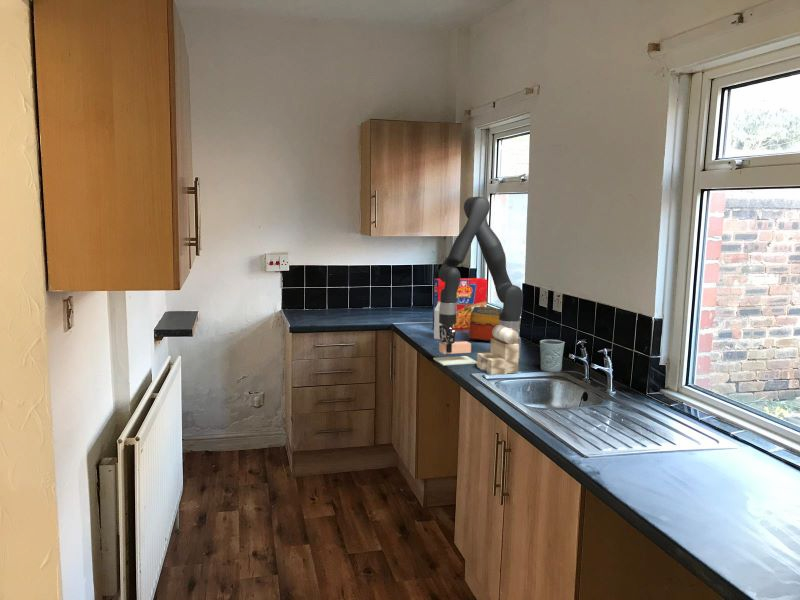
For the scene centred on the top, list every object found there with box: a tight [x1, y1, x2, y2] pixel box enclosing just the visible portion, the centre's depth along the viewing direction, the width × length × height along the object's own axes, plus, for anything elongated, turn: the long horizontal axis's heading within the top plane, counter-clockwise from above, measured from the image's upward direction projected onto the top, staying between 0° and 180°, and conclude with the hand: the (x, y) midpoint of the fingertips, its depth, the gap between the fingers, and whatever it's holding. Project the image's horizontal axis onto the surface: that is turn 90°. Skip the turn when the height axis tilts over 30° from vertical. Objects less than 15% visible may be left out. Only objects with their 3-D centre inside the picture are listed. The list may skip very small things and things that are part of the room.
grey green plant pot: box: [539, 339, 565, 373], centre depth 284 cm, size 10×10×12 cm
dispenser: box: [476, 325, 519, 376], centre depth 280 cm, size 12×14×18 cm
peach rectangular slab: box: [438, 340, 472, 355], centre depth 295 cm, size 13×5×4 cm, turn 109°
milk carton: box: [433, 301, 442, 341], centre depth 344 cm, size 7×7×19 cm
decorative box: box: [468, 306, 503, 343], centre depth 343 cm, size 20×22×16 cm
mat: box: [433, 355, 477, 366], centre depth 296 cm, size 16×12×1 cm
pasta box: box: [432, 277, 488, 332], centre depth 369 cm, size 28×8×28 cm, turn 105°
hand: (446, 350), depth 294 cm, fingers closed on peach rectangular slab, 5 cm apart
